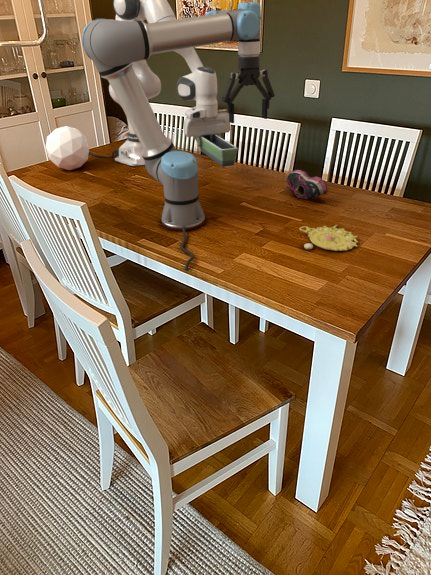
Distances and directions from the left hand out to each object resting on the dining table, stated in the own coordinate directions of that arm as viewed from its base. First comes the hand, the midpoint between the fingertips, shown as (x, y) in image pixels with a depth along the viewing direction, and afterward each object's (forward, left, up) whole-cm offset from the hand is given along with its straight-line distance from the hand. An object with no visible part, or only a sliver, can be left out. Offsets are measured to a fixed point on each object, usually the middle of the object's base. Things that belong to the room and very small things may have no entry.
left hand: (207, 145), depth 190 cm
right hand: (+25, -10, +14) cm, 31 cm away
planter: (+8, -5, -3) cm, 10 cm away
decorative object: (+69, -33, -14) cm, 77 cm away
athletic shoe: (+45, -2, -14) cm, 47 cm away
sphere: (-65, -22, -14) cm, 70 cm away
